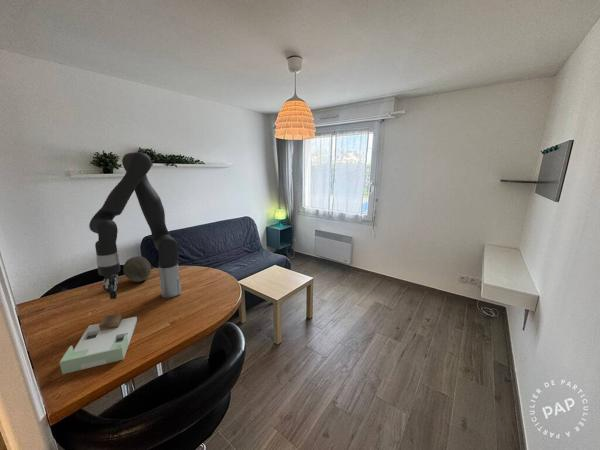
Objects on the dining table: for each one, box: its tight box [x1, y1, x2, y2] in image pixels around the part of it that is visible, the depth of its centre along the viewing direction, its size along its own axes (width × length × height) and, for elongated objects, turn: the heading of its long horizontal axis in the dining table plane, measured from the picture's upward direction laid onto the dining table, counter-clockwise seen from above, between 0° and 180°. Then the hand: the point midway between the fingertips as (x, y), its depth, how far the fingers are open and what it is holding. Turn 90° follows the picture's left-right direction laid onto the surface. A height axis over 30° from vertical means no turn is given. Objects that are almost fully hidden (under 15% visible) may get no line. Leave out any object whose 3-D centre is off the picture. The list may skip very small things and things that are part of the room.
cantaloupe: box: [122, 255, 152, 283], centre depth 140 cm, size 14×14×15 cm
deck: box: [59, 316, 138, 375], centre depth 92 cm, size 17×24×5 cm
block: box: [98, 313, 123, 331], centre depth 100 cm, size 6×6×3 cm
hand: (113, 298), depth 106 cm, fingers closed
